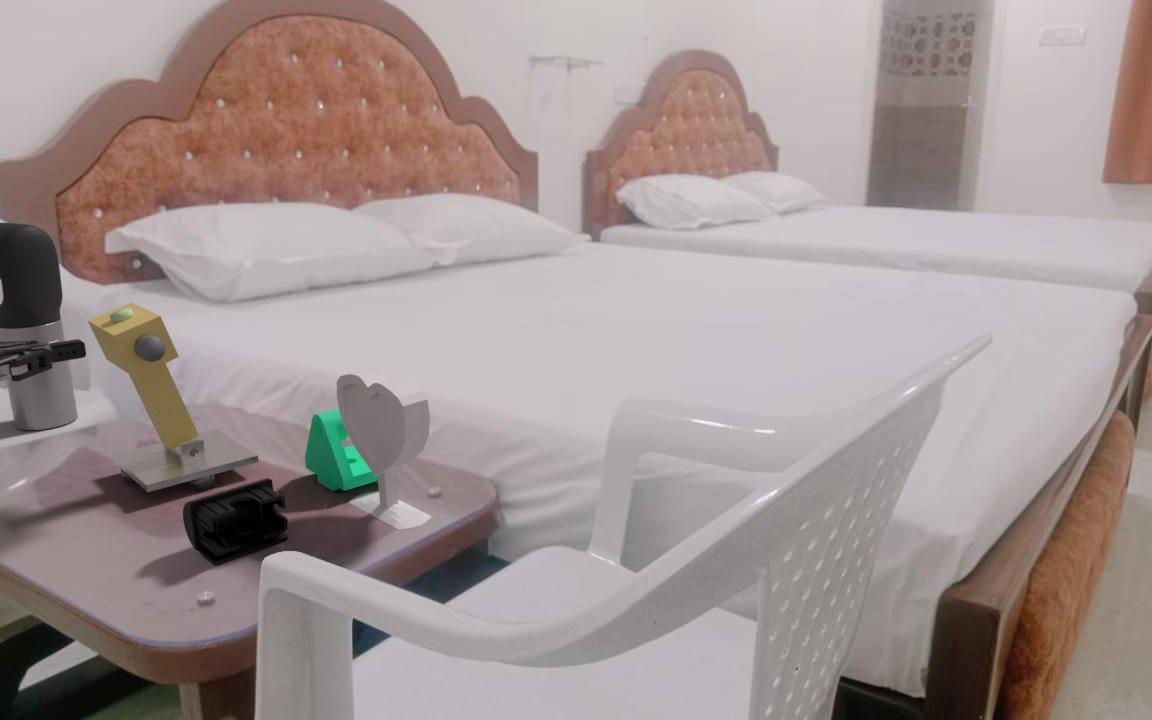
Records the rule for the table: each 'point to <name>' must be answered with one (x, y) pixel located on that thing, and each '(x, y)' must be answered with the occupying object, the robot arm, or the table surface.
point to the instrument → (146, 366)
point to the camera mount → (334, 454)
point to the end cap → (236, 522)
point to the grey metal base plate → (183, 462)
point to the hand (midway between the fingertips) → (83, 347)
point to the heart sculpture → (385, 437)
